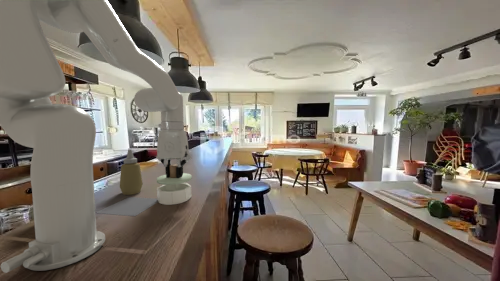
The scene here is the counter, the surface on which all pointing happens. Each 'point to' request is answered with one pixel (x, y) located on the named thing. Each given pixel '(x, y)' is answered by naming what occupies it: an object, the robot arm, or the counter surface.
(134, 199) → the mat
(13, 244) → the counter surface
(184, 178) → the lid
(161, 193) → the bowl
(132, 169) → the squeeze bottle
